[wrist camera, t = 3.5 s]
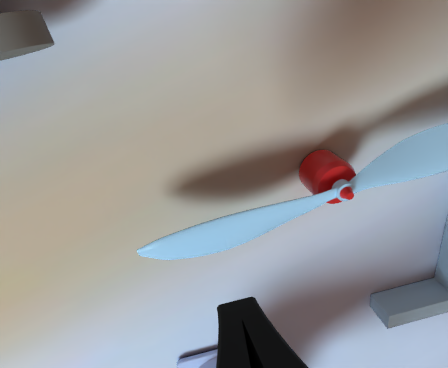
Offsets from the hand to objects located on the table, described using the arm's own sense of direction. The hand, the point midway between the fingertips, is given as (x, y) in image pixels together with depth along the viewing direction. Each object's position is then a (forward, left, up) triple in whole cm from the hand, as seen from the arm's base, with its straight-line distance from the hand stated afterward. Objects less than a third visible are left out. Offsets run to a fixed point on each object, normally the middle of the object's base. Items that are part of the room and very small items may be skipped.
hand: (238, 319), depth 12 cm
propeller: (0, -8, -11) cm, 13 cm away
